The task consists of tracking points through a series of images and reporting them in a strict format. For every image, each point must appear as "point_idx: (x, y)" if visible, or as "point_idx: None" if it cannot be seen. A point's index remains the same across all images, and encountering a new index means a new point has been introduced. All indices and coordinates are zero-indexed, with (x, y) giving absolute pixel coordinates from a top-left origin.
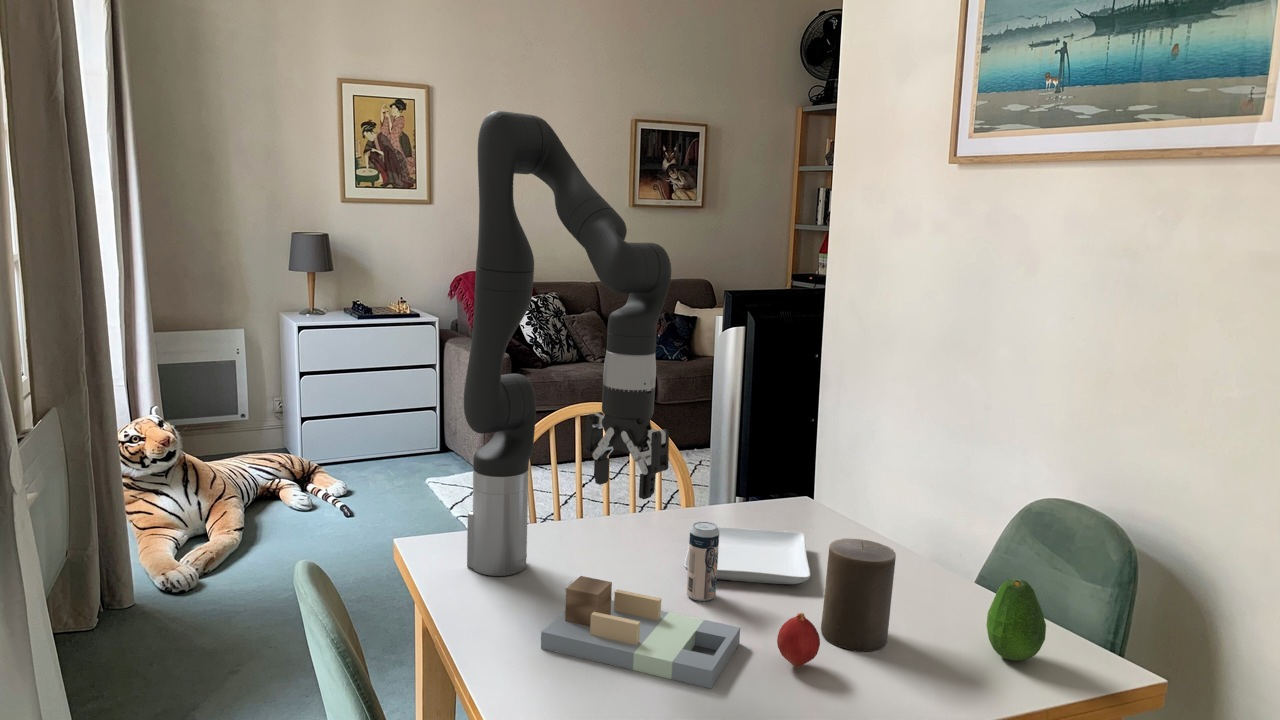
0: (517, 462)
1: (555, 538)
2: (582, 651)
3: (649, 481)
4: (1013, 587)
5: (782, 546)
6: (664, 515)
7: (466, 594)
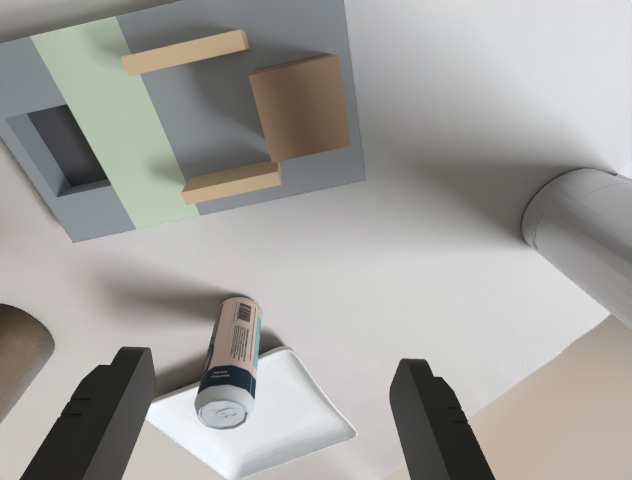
0: None
1: (520, 330)
2: None
3: (43, 450)
4: None
5: (245, 452)
6: None
7: (581, 83)
